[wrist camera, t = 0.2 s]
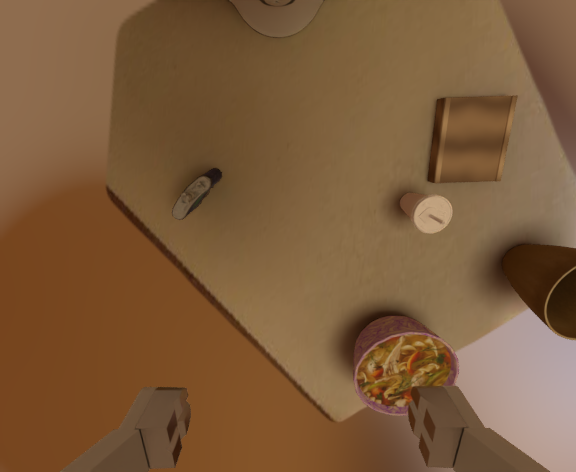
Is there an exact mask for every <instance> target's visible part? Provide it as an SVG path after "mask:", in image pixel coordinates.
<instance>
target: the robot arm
mask: <svg viewBox="0 0 576 472" xmlns="http://www.w3.org/2000/svg"><path fill="white" fill-rule="evenodd" d="M229 1H230V2H232V3H233V4H234V6H235V7H236V8H237V10H238V12H239V13H240V15H241V16H242V18H243V19H244V20H245V21H246V23H247V24H248V25H250V26H251V27H252V28H253V29H254V30H256V31H258V32H259V33H261V34H264V35H266V36H270V37H286V36H290V35H293V34H295V33H297V32H299V31H300V30H302V29H303V28H304V27H306V26H307V25H308V24H309V23H310V22H311V20H312V19H313V18H314V16H315V15H316V13H317V11H318V9H319V7H320V6H321V4H322V2H323V1H324V0H229ZM187 397H188V392H187V388H177V387H144V388H143V389H142V390H141V391H140V392H139V394H138V396H137V397H136V399H135V401H134V403H133V404H132V406H131V408H130V410H129V411H128V413H127V415H126V417H125V418H124V420H123V422H122V424H121V425H120V427H119V429H117V430H113V431H111V432H110V433H109V434H108V435H106V436H105V437H104V438H102V439H101V440H100V441H99V442H97V443H96V444H95V445H93V446H92V447H91V448H90V449H88V450H87V451H86V452H85V453H83V454H82V455H81V456H79V457H78V458H77V459H76V460H74V461H73V462H72V463H71V464H69V465H68V466H67V467H65V468H64V469H63V470H61V471H60V472H148V471H149V469H152V468H175V466H176V464H177V461H178V457H179V455H180V452H181V449H182V444H181V439H182V438H183V437H184V436H185V435H186V434H187V431H188V427H189V423H190V417H191V409H190V405H189V403H188V402H187V401H186V400H187ZM411 397H412V399H413V400H412V401H411V402H410V403H409V406H408V417H409V422H410V426H411V429H412V431H413V433H414V434H415V435H416V436H417V437H418V438H419V439H420V442H419V449H420V451H421V453H422V456H423V458H424V461H425V463H426V466H427V467H443V468H453V469H454V471H456V472H550V471H549V470H547V469H546V468H544V467H543V466H542V465H540V464H539V463H537V462H536V461H535V460H533V459H532V458H531V457H529V456H528V455H526V454H525V453H523V452H522V451H521V450H519V449H518V448H516V447H515V446H514V445H512V444H511V443H510V442H508V441H507V440H506V439H504V438H503V437H501V436H500V435H499V434H497V433H496V432H494V431H493V430H492V429H490V428H485V427H484V425H483V424H482V422H481V421H480V419H479V418H478V416H477V415H476V413H475V412H474V410H473V409H472V407H471V406H470V404H469V403H468V401H467V400H466V398H465V396H464V395H463V393H462V392H461V390H460V389H459V388H458V387H457V386H413V387H412V389H411Z"/></svg>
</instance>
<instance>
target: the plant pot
mask: <svg viewBox="0 0 576 472" xmlns="http://www.w3.org/2000/svg"><path fill="white" fill-rule="evenodd" d="M502 269H503V271H504V273H505V275H506V277H507V279H508V280H509V282H510V283H511V285H512V286H513V288H514V289H515V291H516V292H517V293H518V295H519V296H520V297H521V299H522V300H523V301H524V302H525V303H526V304H527V306H528V307H529V308H530V309H531V310H532V311H533V312H534V313H535V314H536V315H537V316H538V317H539V318H540V319H541V320H542V321H543V322H544V323H545V324H546V325H547V326H548V327H549V328H550V329H551V330H552V331H553V332H554V333H555V334H557V335H559V336H561V337H563V338H566V339H570V340H576V248H569V247H562V246H552V245H519V246H516V247H514V248H512V249H511V250H509V251H508V252H507V253H506V255H505V256H504V258H503V261H502Z"/></svg>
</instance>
